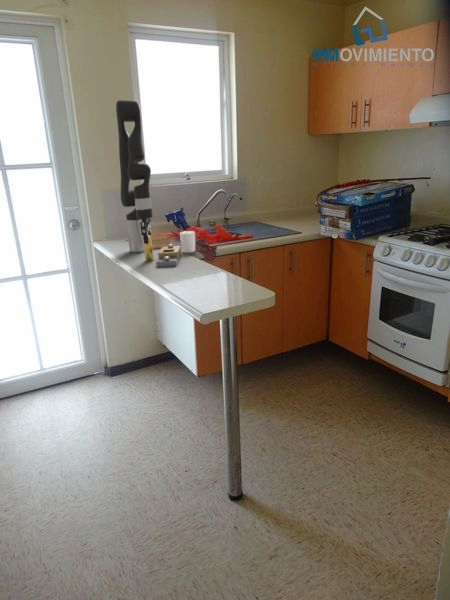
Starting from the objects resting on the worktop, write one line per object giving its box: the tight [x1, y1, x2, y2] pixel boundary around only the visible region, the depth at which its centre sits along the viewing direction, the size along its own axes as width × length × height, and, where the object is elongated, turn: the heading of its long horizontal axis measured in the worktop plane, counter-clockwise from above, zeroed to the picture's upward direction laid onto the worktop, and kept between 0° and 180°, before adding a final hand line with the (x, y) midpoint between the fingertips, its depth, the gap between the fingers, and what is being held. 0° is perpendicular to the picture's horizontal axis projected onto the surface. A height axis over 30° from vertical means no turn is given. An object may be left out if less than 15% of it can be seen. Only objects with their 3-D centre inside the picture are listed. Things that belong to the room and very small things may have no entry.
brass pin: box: [143, 235, 155, 262], centre depth 210 cm, size 4×4×12 cm
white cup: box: [179, 230, 196, 254], centre depth 225 cm, size 8×8×10 cm
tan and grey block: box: [155, 243, 182, 268], centre depth 207 cm, size 9×22×6 cm, turn 179°
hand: (148, 241), depth 209 cm, fingers open, 8 cm apart
